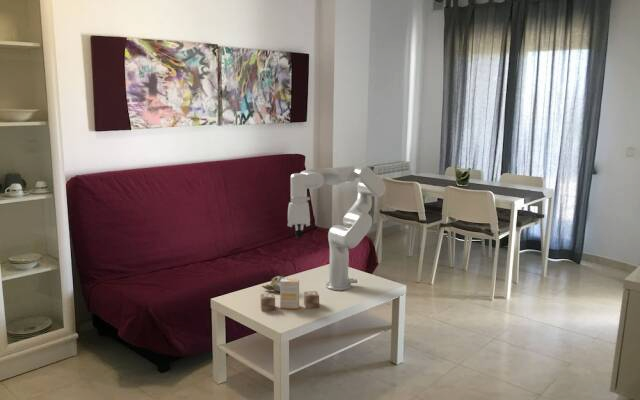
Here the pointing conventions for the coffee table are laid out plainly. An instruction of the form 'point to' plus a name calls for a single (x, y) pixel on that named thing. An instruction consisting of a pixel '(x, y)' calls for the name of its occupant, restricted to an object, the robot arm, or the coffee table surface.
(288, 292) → the supplement box
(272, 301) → the walnut block
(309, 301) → the walnut block
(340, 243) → the robot arm
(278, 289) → the ceramic sculpture
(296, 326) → the coffee table surface
